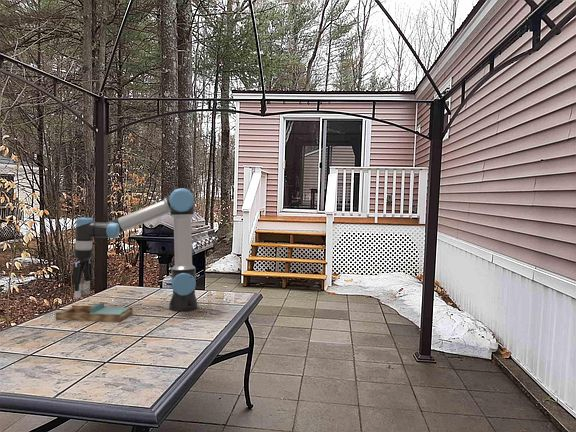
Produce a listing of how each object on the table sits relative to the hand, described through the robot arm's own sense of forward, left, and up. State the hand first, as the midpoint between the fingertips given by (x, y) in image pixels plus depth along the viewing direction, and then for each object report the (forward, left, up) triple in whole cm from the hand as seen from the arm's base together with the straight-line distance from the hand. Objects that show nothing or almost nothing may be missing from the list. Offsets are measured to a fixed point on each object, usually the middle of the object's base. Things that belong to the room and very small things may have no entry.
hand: (82, 295), depth 203 cm
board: (-7, 0, -10) cm, 12 cm away
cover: (-14, 0, -8) cm, 16 cm away
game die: (0, 0, -1) cm, 1 cm away
